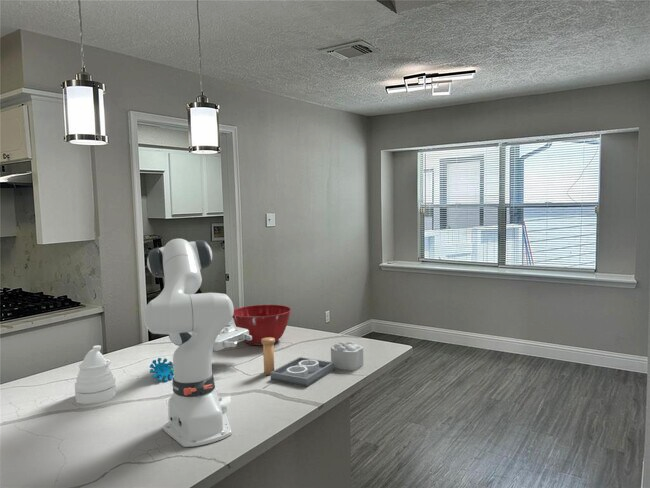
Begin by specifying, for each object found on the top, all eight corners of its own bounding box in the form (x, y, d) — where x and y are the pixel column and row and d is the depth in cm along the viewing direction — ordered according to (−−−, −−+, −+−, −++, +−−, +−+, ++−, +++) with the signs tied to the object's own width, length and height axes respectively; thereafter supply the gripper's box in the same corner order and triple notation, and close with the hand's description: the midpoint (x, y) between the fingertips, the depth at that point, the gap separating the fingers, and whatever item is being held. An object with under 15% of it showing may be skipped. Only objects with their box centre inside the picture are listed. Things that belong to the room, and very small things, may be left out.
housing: (270, 380, 179) (270, 370, 178) (299, 364, 196) (299, 355, 196) (307, 387, 171) (306, 377, 170) (334, 369, 188) (333, 361, 188)
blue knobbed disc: (154, 381, 176) (147, 358, 181) (148, 390, 179) (141, 366, 184) (182, 377, 184) (174, 355, 189) (176, 385, 186) (168, 363, 192)
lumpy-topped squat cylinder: (353, 371, 186) (353, 349, 185) (325, 365, 193) (324, 344, 192) (366, 363, 195) (365, 342, 194) (339, 358, 202) (338, 338, 201)
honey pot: (124, 392, 171) (121, 342, 169) (93, 406, 159) (89, 353, 157) (98, 387, 176) (95, 339, 175) (66, 400, 164) (63, 349, 163)
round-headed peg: (278, 373, 185) (277, 339, 184) (265, 376, 183) (264, 341, 182) (272, 369, 190) (271, 336, 189) (260, 372, 187) (259, 338, 186)
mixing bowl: (238, 334, 245) (237, 304, 244) (294, 332, 245) (293, 303, 243) (226, 351, 217) (225, 317, 215) (289, 349, 216) (288, 315, 215)
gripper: (198, 336, 189) (225, 340, 182) (233, 323, 207) (258, 327, 200) (199, 351, 190) (226, 356, 183) (233, 338, 208) (259, 342, 201)
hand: (243, 341), depth 192 cm, fingers open, 8 cm apart
